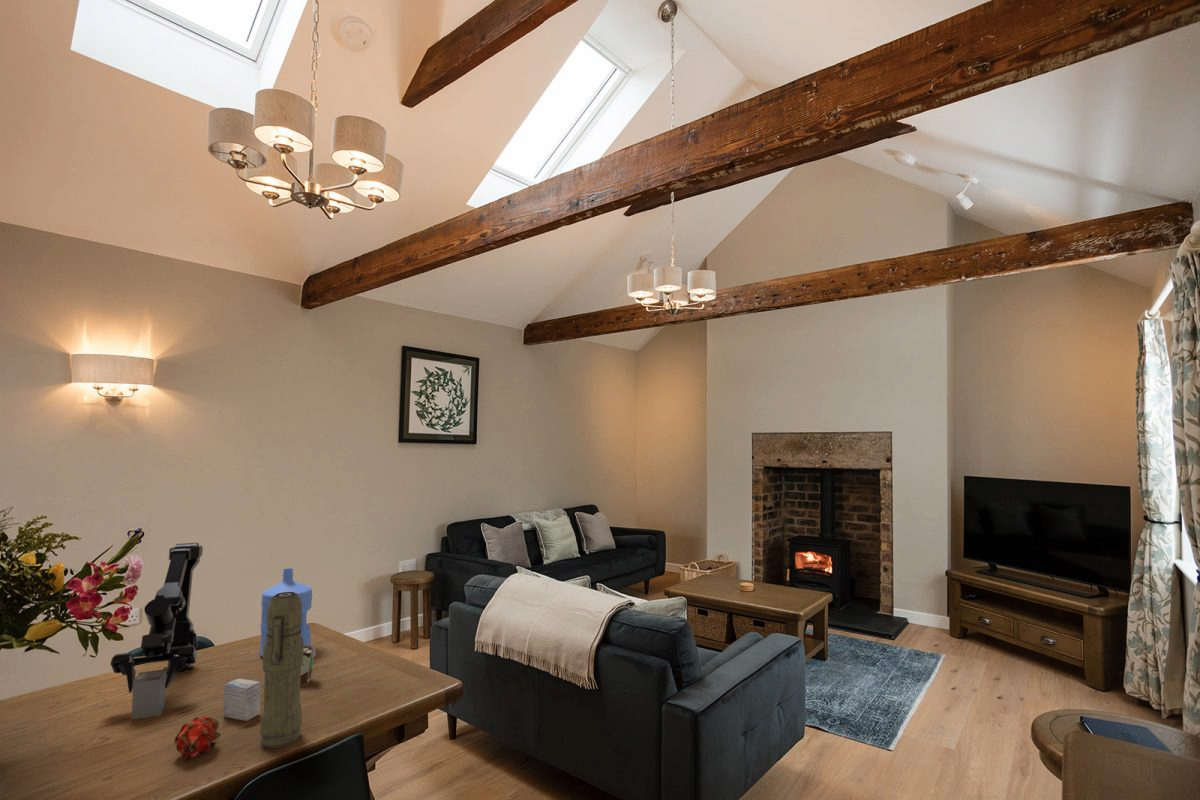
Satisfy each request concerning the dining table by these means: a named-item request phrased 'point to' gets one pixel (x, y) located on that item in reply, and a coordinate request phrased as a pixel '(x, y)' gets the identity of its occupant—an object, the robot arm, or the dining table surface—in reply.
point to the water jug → (287, 586)
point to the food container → (307, 663)
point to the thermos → (282, 672)
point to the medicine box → (242, 699)
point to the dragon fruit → (197, 736)
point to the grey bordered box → (148, 694)
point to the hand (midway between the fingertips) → (148, 689)
